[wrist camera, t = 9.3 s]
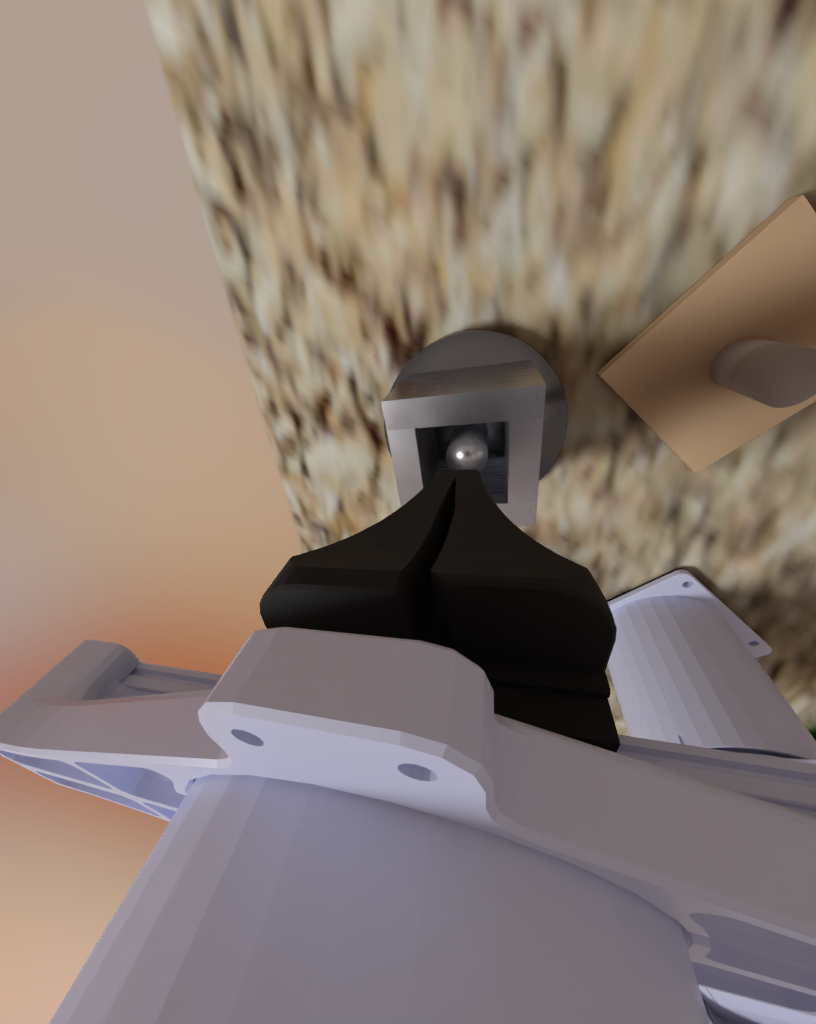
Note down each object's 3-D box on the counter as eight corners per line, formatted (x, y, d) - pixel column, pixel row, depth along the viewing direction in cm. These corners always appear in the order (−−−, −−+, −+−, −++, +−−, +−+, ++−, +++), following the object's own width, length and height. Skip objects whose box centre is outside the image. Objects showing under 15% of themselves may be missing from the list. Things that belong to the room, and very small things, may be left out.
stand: (889, 345, 12) (1013, 362, 9) (689, 467, 16) (732, 507, 13) (789, 198, 11) (899, 165, 8) (596, 372, 15) (622, 393, 12)
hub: (604, 417, 16) (634, 451, 12) (474, 523, 21) (470, 566, 17) (466, 280, 14) (458, 278, 11) (359, 433, 19) (332, 463, 16)
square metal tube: (531, 359, 14) (546, 384, 10) (525, 474, 17) (535, 525, 13) (406, 375, 15) (381, 401, 12) (421, 478, 18) (404, 525, 15)
